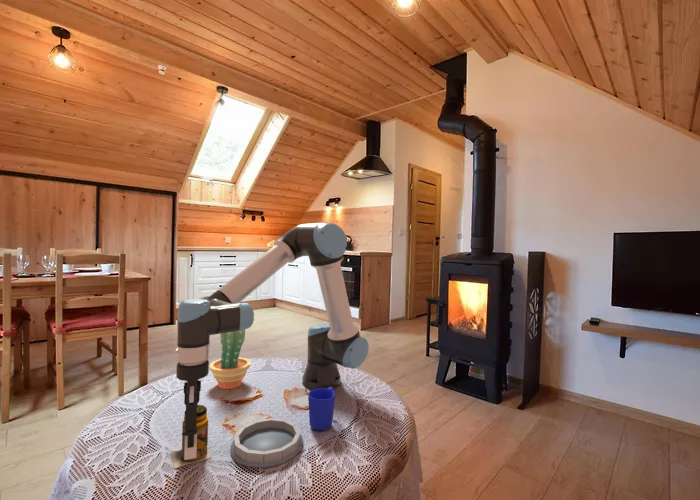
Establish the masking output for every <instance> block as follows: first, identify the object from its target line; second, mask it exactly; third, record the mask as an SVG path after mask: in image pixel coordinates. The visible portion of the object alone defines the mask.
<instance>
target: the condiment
mask: <svg viewBox="0 0 700 500" xmlns="http://www.w3.org/2000/svg"><path fill="white" fill-rule="evenodd" d="M207 411H208V408H207V407H206V406H205V405H202V404H198V405H197V426H196V429H197V455H196V458H193V459H188V460H184V452H185V435H182V434H181V436H182V438H181V439H182V440H181V449H180V450H173V451H171V452H170V456H171V460H172V464H173V465H172V466H173V469H177V468H182V467H184V466H189V465H191V464H196V463H199V462H203V461H205V460H210V459H211V458H212V456H211V453H210V450H209V449H208V441H209V440H208V439H209V436H208V435H209V431H208V430H209V417H208V416H207V415H208V412H207ZM185 418H186V409H185V411H184V417H183V419H184V420H182V421H183V422H182V425H181V426H182V427H181V428H182V429H181V431H182V432H185ZM182 432H181V433H182Z"/></svg>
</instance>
